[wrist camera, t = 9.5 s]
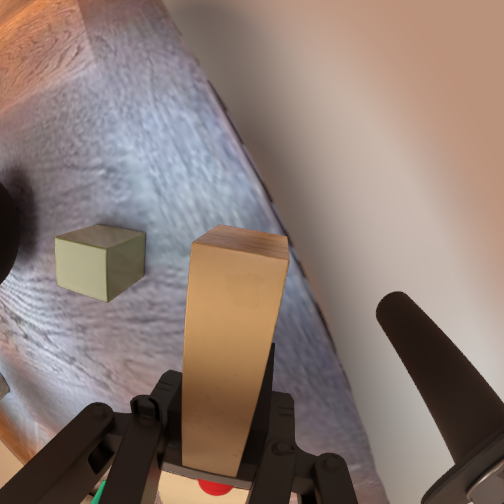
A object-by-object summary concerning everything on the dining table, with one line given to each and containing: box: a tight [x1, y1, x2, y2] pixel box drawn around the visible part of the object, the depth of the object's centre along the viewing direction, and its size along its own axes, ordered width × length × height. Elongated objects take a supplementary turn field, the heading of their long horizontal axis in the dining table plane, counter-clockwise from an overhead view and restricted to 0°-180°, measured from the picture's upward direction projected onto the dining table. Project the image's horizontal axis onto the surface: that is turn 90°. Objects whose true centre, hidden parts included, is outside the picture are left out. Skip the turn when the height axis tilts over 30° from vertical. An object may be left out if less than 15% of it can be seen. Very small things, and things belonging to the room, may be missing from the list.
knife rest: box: [54, 224, 146, 303], centre depth 15 cm, size 4×3×4 cm
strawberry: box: [198, 479, 233, 496], centre depth 20 cm, size 4×5×4 cm
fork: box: [163, 225, 289, 488], centre depth 13 cm, size 19×5×8 cm, turn 171°
